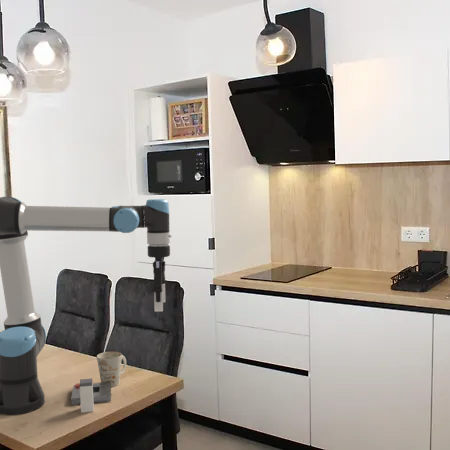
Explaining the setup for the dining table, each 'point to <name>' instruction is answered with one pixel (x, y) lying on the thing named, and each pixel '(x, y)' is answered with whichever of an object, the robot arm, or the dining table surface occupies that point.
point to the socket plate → (99, 393)
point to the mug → (111, 367)
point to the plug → (86, 395)
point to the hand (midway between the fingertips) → (160, 306)
